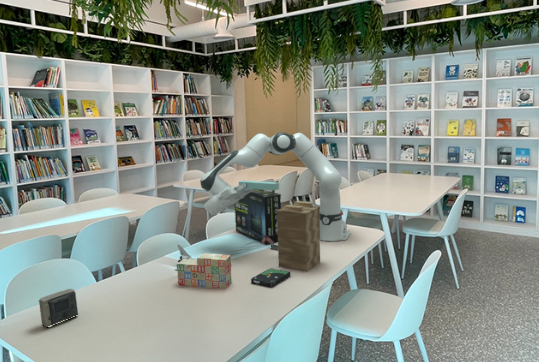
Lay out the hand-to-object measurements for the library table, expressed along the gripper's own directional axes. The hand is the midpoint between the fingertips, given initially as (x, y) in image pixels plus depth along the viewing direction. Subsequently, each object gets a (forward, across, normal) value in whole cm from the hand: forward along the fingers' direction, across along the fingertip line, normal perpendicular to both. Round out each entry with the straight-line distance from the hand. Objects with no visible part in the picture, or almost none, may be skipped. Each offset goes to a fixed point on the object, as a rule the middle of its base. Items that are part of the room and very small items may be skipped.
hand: (249, 183), depth 207 cm
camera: (-35, -88, +22) cm, 97 cm away
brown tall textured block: (+5, 0, +44) cm, 44 cm away
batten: (+4, 0, +4) cm, 6 cm away
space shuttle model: (-29, -24, +26) cm, 45 cm away
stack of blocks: (-16, -39, +33) cm, 53 cm away
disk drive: (+3, -22, +44) cm, 49 cm away
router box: (-33, +31, +23) cm, 51 cm away
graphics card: (-11, +25, +36) cm, 45 cm away
